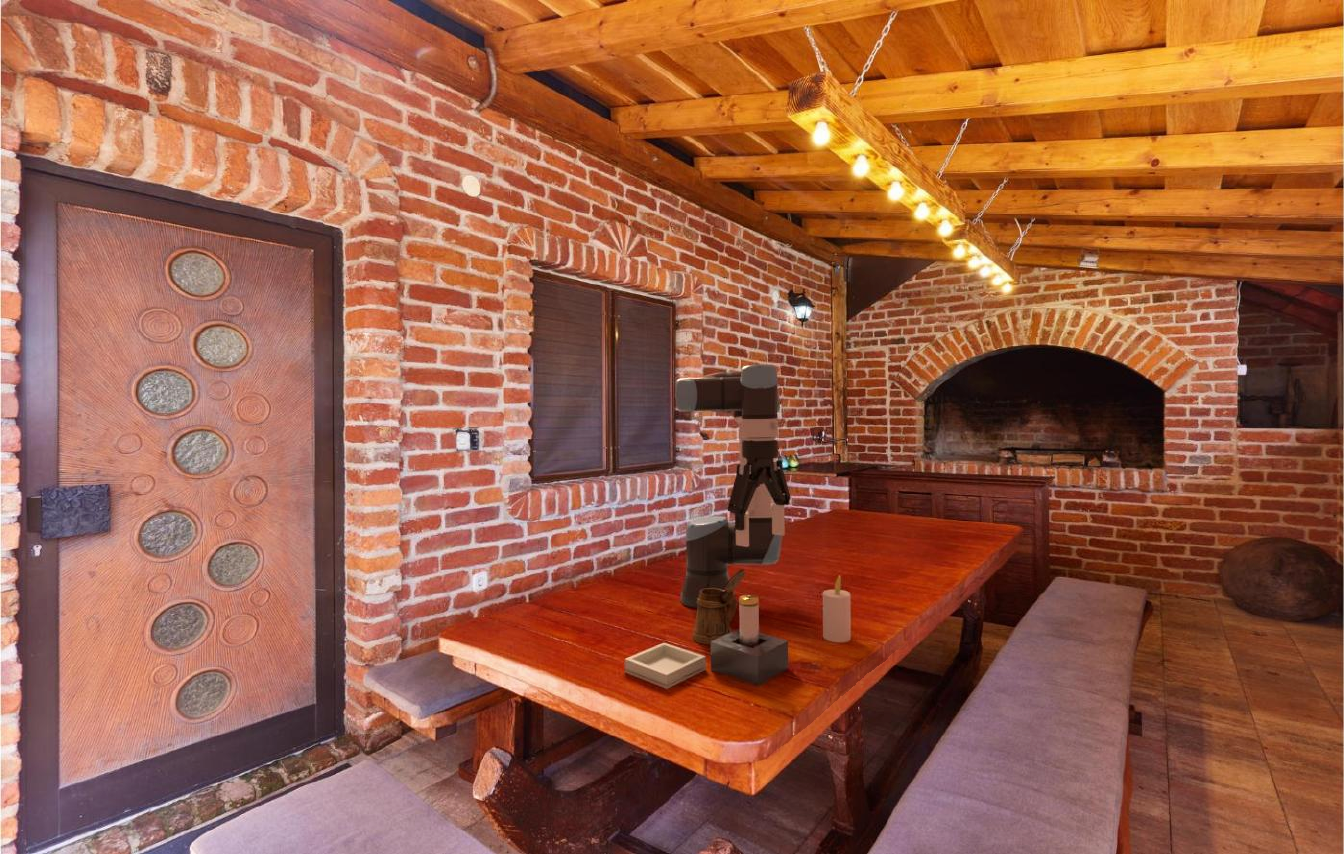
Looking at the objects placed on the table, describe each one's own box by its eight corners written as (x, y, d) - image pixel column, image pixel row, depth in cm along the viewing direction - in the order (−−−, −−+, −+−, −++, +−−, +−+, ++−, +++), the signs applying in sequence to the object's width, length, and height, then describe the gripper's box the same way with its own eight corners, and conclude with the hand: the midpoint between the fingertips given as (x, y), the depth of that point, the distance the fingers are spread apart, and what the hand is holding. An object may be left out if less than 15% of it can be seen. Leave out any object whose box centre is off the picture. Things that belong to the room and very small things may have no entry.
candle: (826, 630, 157) (825, 569, 156) (853, 634, 154) (852, 572, 153) (819, 639, 151) (818, 576, 151) (847, 643, 148) (846, 579, 148)
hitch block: (710, 669, 136) (710, 641, 135) (742, 654, 144) (741, 627, 143) (758, 686, 127) (757, 656, 127) (788, 668, 135) (788, 640, 135)
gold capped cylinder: (736, 669, 135) (735, 598, 135) (747, 663, 138) (746, 593, 138) (751, 675, 133) (751, 602, 132) (763, 668, 136) (762, 597, 135)
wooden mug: (733, 652, 145) (732, 573, 144) (685, 639, 153) (684, 564, 152) (754, 640, 152) (753, 564, 151) (707, 628, 160) (706, 556, 159)
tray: (625, 672, 135) (624, 659, 135) (664, 654, 144) (663, 642, 144) (666, 688, 127) (666, 674, 127) (705, 669, 136) (705, 656, 136)
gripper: (740, 443, 123) (741, 553, 124) (805, 436, 142) (806, 532, 143) (709, 442, 128) (710, 548, 129) (776, 435, 147) (777, 528, 148)
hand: (761, 540), depth 136 cm, fingers open, 13 cm apart
